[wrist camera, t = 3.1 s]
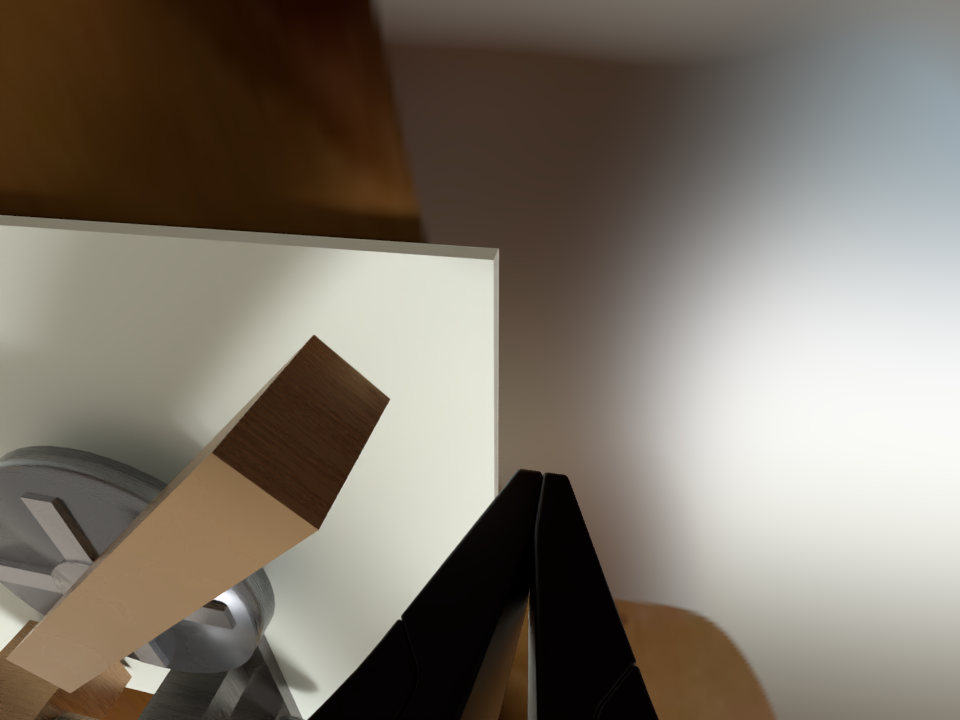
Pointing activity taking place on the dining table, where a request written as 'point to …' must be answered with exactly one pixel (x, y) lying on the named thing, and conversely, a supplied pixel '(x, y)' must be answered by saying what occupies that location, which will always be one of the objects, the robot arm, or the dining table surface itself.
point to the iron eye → (225, 693)
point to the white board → (238, 378)
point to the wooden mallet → (58, 691)
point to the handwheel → (178, 530)
